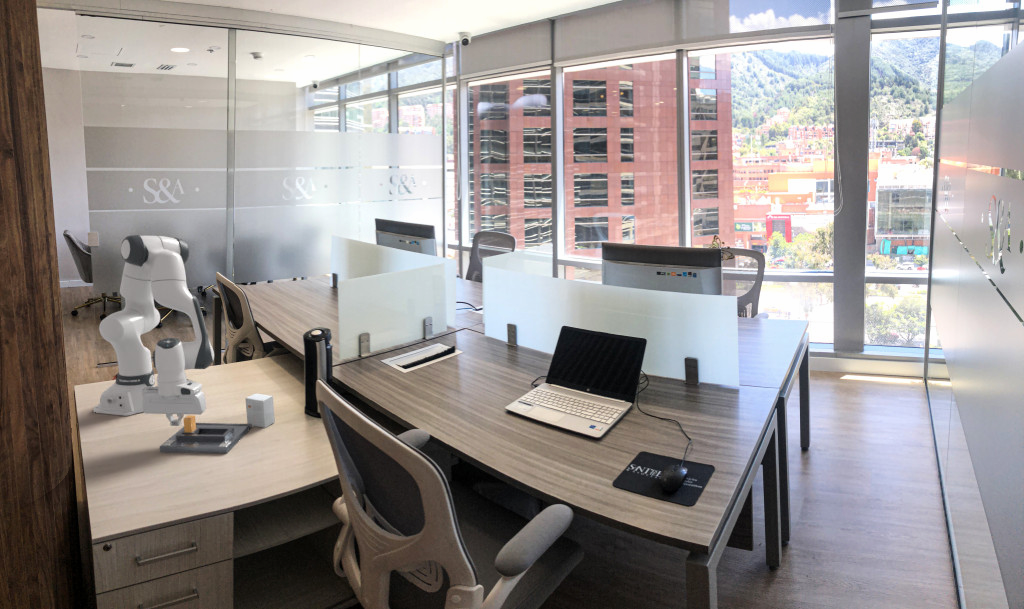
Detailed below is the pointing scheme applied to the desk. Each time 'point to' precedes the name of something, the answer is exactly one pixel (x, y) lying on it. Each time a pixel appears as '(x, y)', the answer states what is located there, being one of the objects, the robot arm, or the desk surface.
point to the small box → (260, 410)
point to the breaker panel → (205, 439)
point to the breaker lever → (190, 425)
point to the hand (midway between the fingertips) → (176, 425)
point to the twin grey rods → (225, 424)
